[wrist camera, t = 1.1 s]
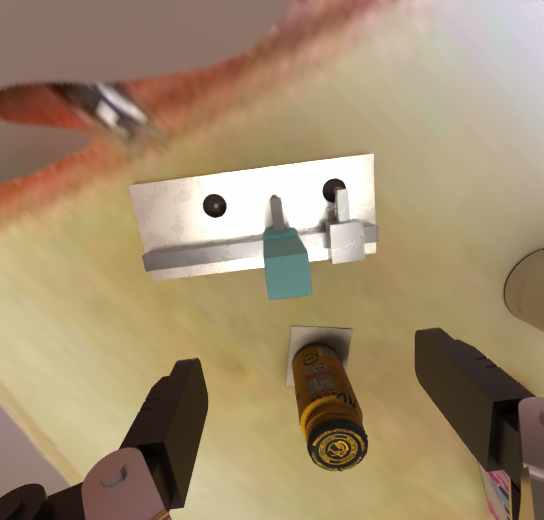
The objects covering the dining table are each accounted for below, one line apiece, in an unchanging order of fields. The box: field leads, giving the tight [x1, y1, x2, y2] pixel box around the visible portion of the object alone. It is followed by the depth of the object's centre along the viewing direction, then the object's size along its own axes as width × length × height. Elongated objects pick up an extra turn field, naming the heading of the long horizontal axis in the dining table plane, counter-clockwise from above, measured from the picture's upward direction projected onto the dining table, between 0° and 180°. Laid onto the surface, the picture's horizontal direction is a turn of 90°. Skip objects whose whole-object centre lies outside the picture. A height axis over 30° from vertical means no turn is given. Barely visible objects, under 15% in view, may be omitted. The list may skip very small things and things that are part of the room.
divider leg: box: [263, 194, 312, 300], centre depth 24 cm, size 3×7×11 cm, turn 7°
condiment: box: [286, 326, 368, 471], centre depth 30 cm, size 7×8×12 cm
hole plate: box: [128, 154, 378, 281], centre depth 28 cm, size 24×10×6 cm, turn 97°
